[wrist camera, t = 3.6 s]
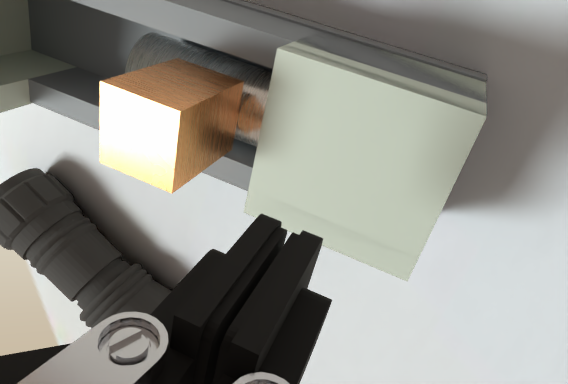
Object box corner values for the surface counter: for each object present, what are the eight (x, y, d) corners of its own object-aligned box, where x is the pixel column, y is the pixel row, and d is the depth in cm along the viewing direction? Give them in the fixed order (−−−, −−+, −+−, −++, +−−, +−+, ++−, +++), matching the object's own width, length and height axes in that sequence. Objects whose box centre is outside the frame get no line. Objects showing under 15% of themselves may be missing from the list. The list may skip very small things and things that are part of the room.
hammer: (466, 127, 18) (457, 213, 12) (435, 193, 20) (413, 299, 13) (171, 28, 21) (38, 54, 15) (165, 92, 23) (44, 140, 16)
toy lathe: (486, 74, 18) (489, 139, 11) (423, 213, 22) (396, 325, 15) (27, -66, 24) (-159, -79, 17) (36, 64, 27) (-114, 97, 20)
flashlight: (28, 196, 33) (-43, 231, 29) (52, 150, 30) (-24, 181, 26) (177, 340, 34) (130, 397, 29) (214, 309, 31) (168, 367, 26)
